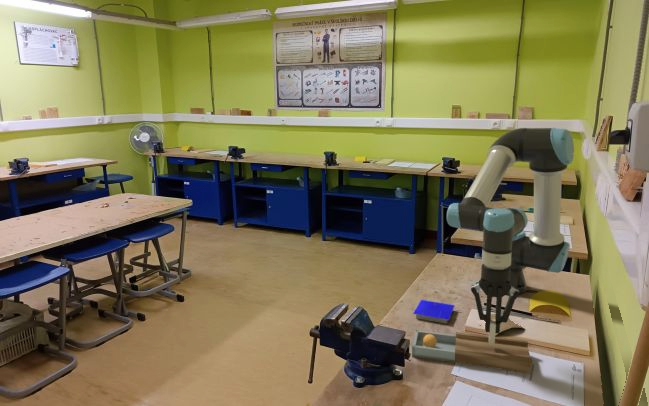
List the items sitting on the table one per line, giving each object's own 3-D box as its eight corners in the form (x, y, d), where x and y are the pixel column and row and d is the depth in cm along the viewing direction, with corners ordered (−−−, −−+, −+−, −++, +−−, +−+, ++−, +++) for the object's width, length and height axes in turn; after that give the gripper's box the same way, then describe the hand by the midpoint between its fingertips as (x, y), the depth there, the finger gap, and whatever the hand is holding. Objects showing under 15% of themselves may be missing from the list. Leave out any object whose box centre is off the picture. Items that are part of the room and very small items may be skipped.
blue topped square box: (413, 319, 152) (413, 305, 151) (421, 305, 163) (421, 292, 162) (448, 326, 147) (449, 311, 146) (454, 311, 158) (455, 297, 157)
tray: (415, 339, 139) (415, 330, 138) (455, 344, 135) (455, 335, 134) (412, 356, 129) (412, 346, 129) (454, 362, 126) (455, 352, 125)
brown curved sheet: (507, 317, 153) (507, 310, 152) (529, 330, 143) (529, 323, 143) (472, 324, 148) (472, 317, 148) (492, 339, 139) (493, 331, 138)
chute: (455, 344, 135) (456, 332, 134) (526, 354, 129) (527, 341, 128) (454, 362, 126) (455, 349, 125) (531, 373, 120) (532, 359, 119)
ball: (423, 331, 134) (437, 332, 133) (422, 343, 135) (436, 344, 134) (423, 337, 130) (437, 338, 129) (422, 349, 131) (436, 351, 130)
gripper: (471, 267, 120) (467, 345, 125) (523, 271, 116) (517, 352, 121) (471, 258, 127) (467, 332, 132) (520, 262, 123) (514, 338, 128)
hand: (491, 342), depth 127 cm, fingers closed
